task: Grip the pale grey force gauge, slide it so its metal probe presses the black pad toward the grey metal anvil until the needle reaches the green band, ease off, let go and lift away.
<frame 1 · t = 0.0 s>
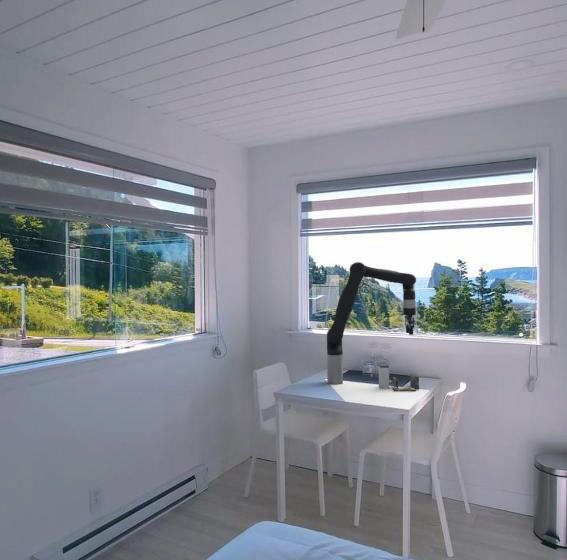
hand: (409, 333, 292), 29 cm above the table, fingers open, 8 cm apart
force gauge: (383, 387, 279), on the table
gauge plunger: (396, 382, 277), point 3 cm above the table, slide at 0.0 cm
test stand: (403, 387, 279), on the table
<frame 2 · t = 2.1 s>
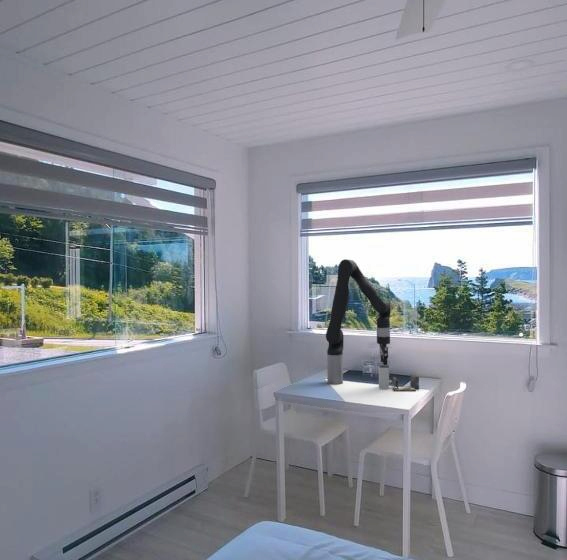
hand: (384, 363, 279), 14 cm above the table, fingers open, 8 cm apart
nothing on the table moved.
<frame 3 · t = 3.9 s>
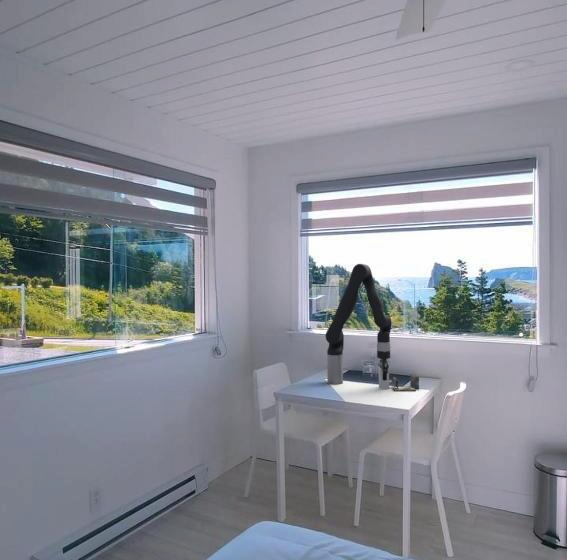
hand: (383, 379, 279), 5 cm above the table, fingers closed on force gauge, 5 cm apart
force gauge: (383, 387, 279), on the table, touching gripper
everything else where it was.
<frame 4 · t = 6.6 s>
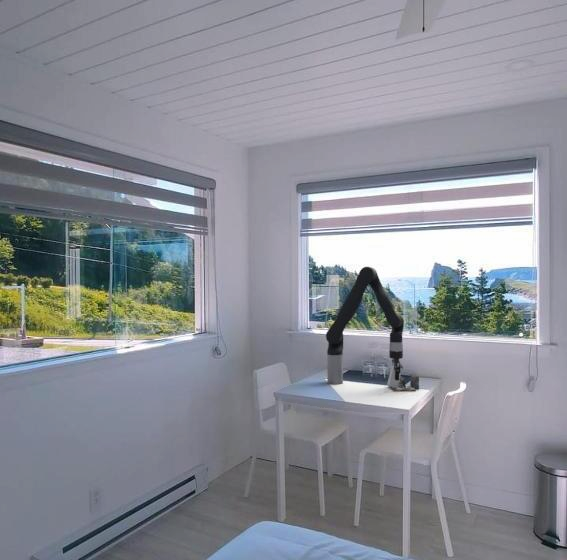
hand: (396, 379, 279), 5 cm above the table, fingers closed on force gauge, 5 cm apart
force gauge: (392, 386, 279), point 1 cm above the table, tilted 15°, touching gripper
gauge plunger: (403, 382, 277), point 3 cm above the table, slide at 4.1 cm
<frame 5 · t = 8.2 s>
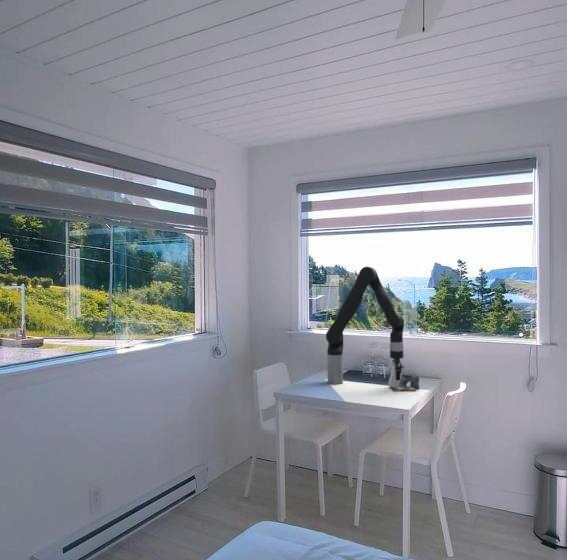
hand: (397, 378, 279), 5 cm above the table, fingers closed on force gauge, 5 cm apart
force gauge: (393, 386, 279), point 1 cm above the table, tilted 15°, touching gripper
gauge plunger: (404, 382, 277), point 3 cm above the table, slide at 4.7 cm
when the fingers open (5 cm above the table, at t = 9.0 s): force gauge stays where it is, on the table.
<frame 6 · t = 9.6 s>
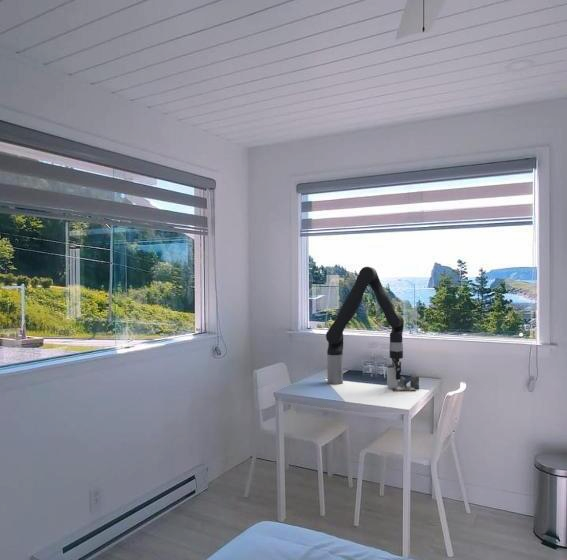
hand: (396, 377, 279), 6 cm above the table, fingers open, 8 cm apart
force gauge: (392, 387, 279), on the table
everything else where it was.
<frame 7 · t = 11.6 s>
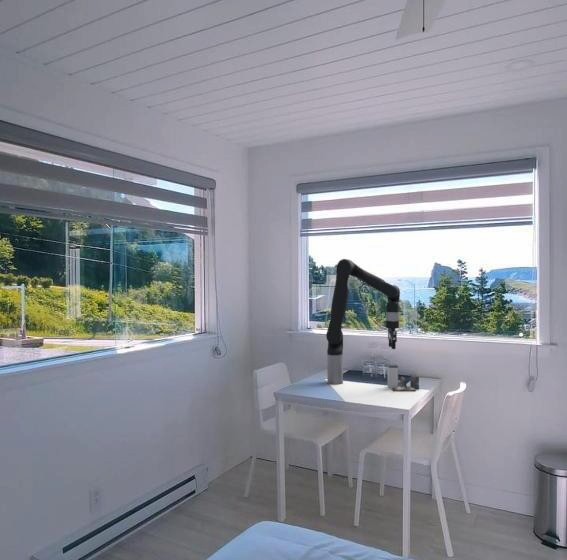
hand: (392, 347, 280), 23 cm above the table, fingers open, 8 cm apart
nothing on the table moved.
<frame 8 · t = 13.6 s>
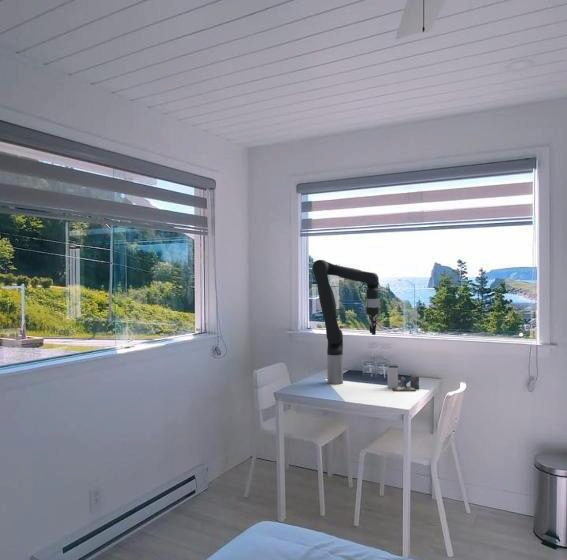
hand: (372, 333, 287), 30 cm above the table, fingers open, 8 cm apart
nothing on the table moved.
at the end: gauge plunger slide at 4.7 cm; force gauge tilted 0°; the gripper is holding nothing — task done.
